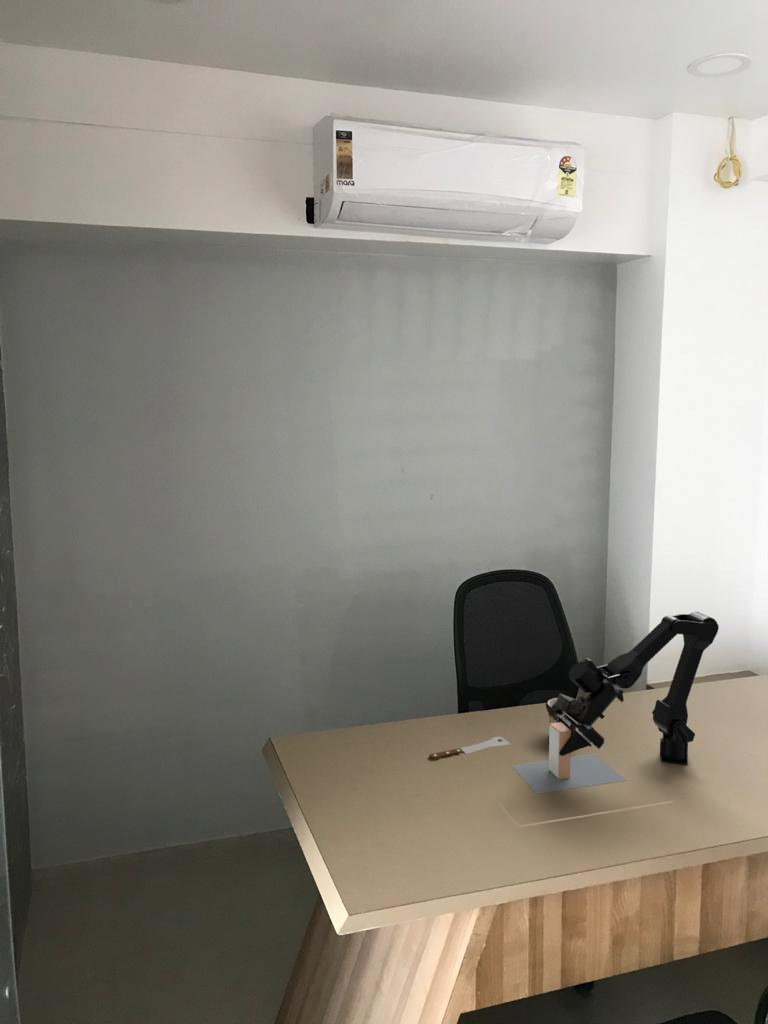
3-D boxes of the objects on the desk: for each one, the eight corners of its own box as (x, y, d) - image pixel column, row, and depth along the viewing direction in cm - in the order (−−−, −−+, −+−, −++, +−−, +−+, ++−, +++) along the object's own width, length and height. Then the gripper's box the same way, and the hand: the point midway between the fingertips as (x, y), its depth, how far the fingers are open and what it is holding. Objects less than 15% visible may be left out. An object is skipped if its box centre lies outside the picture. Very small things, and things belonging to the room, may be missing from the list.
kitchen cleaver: (442, 768, 224) (424, 751, 233) (442, 771, 224) (424, 754, 233) (522, 750, 234) (502, 735, 243) (522, 754, 234) (502, 738, 243)
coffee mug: (581, 744, 238) (582, 709, 236) (549, 744, 238) (550, 709, 236) (573, 727, 249) (574, 693, 248) (542, 727, 249) (543, 693, 248)
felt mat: (594, 754, 231) (594, 753, 231) (626, 781, 216) (626, 780, 216) (510, 766, 225) (510, 765, 225) (537, 795, 210) (537, 793, 210)
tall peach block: (559, 768, 223) (560, 722, 221) (569, 777, 218) (571, 730, 216) (548, 770, 222) (549, 723, 220) (558, 779, 217) (559, 732, 215)
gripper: (558, 671, 226) (518, 717, 225) (594, 697, 208) (551, 746, 207) (585, 697, 229) (546, 742, 228) (622, 724, 212) (580, 773, 211)
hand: (554, 749), depth 218 cm, fingers closed on tall peach block, 5 cm apart
